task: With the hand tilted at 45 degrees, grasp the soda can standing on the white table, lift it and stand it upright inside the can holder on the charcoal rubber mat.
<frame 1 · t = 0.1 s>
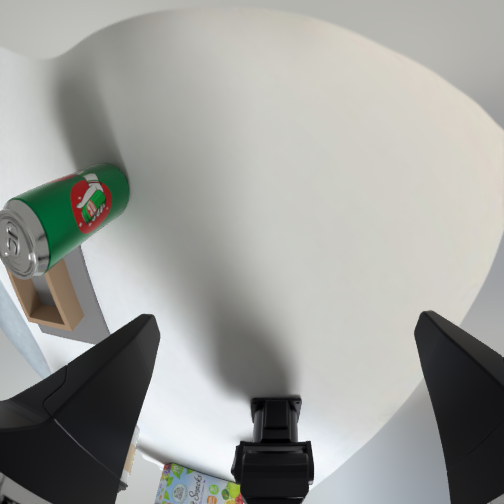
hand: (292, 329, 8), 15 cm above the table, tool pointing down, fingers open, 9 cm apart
can holder: (50, 281, 27), on the table
coffee cup: (123, 423, 41), on the table
snack box: (205, 476, 52), on the table
soda can: (109, 189, 22), on the table
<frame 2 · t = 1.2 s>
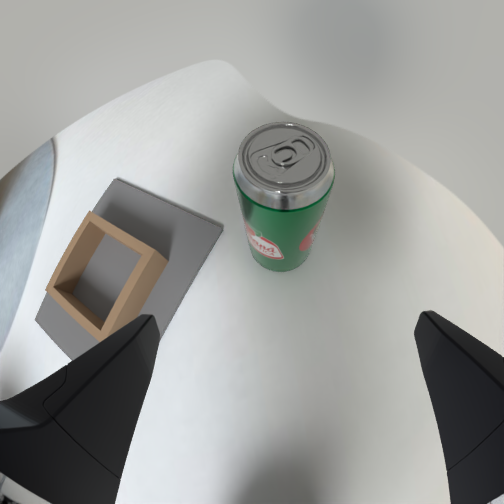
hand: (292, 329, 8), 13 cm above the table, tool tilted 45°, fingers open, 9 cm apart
can holder: (112, 281, 24), on the table
soda can: (280, 245, 24), on the table
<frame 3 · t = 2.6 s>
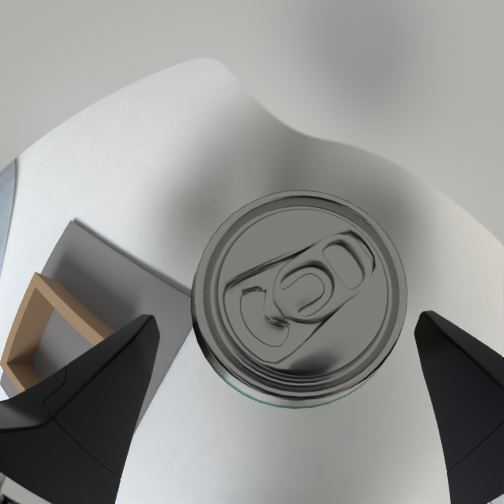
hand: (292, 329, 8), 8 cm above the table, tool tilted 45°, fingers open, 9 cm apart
can holder: (72, 359, 16), on the table
soda can: (283, 329, 17), on the table
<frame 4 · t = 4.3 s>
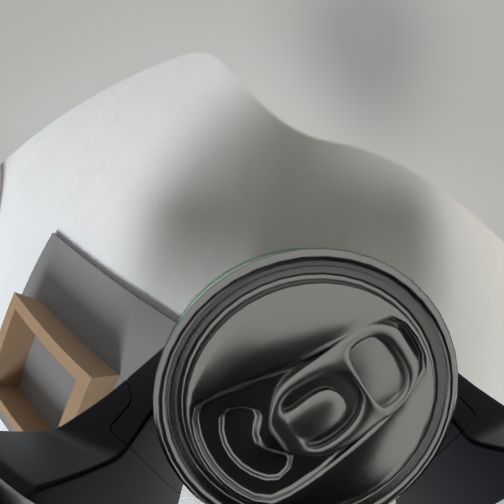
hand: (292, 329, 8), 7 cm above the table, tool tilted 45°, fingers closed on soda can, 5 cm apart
can holder: (57, 383, 14), on the table
soda can: (283, 360, 14), on the table, touching gripper
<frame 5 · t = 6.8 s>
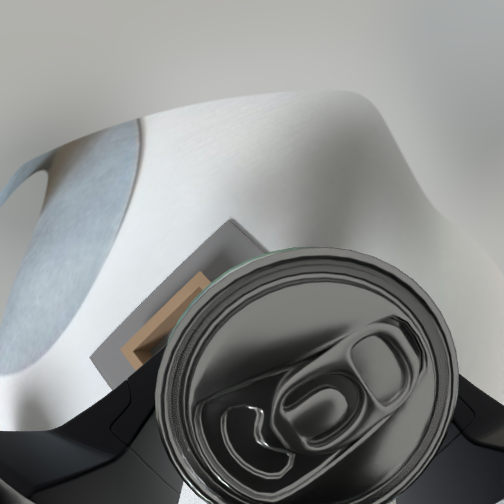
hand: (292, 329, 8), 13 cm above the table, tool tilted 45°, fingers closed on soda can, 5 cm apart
can holder: (208, 355, 21), on the table
soda can: (283, 359, 14), point 6 cm above the table, touching gripper
when the fingers open (8 cm above the table, at t = 9.3 s): soda can drops 1 cm, resting on can holder.
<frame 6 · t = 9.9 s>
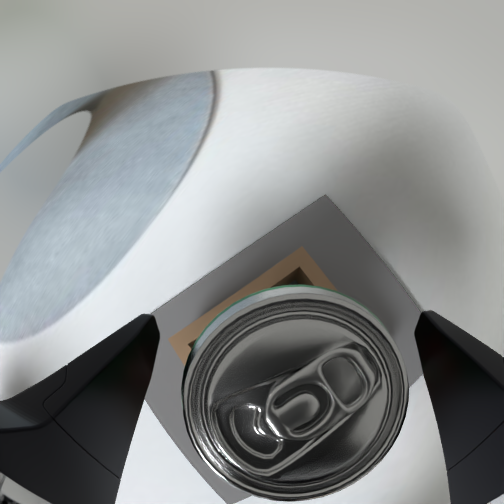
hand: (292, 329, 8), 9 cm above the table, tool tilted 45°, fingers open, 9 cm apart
can holder: (282, 358, 16), on the table
soda can: (282, 363, 16), resting on can holder
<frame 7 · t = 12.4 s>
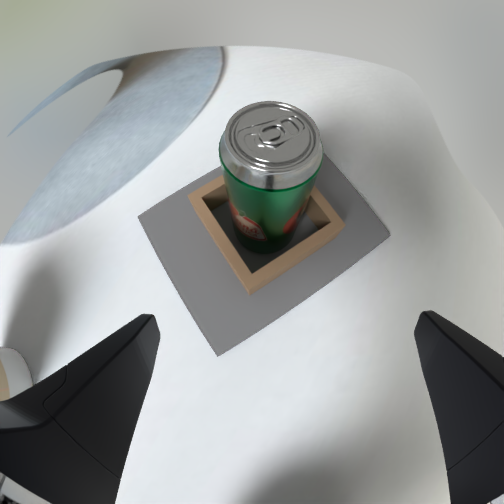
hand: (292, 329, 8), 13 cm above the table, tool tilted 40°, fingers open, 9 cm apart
can holder: (264, 225, 24), on the table
coffee cup: (15, 377, 20), on the table
soda can: (264, 227, 23), resting on can holder
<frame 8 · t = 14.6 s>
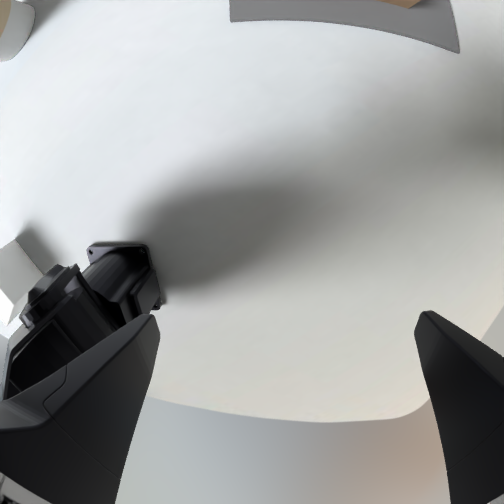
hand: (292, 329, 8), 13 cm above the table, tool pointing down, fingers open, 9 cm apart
coffee cup: (16, 32, 13), on the table
adhesive note: (24, 269, 25), on the table
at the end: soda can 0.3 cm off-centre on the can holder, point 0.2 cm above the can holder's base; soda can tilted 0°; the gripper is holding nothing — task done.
